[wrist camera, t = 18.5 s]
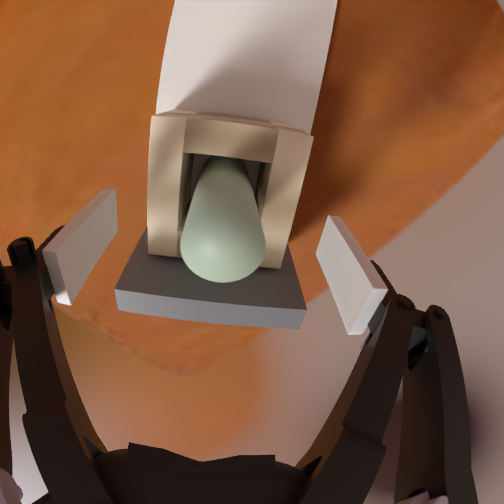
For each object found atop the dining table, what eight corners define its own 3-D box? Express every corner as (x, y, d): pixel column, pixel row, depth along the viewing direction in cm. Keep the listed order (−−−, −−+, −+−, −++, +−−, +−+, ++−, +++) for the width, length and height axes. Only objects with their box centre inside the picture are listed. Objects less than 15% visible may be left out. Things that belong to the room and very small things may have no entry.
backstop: (185, -26, 13) (154, -85, 4) (335, -3, 15) (395, -45, 5) (152, 234, 27) (118, 310, 17) (279, 249, 28) (298, 329, 19)
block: (173, 109, 19) (151, 115, 14) (294, 125, 21) (313, 137, 16) (165, 218, 25) (148, 253, 20) (271, 230, 26) (280, 268, 21)
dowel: (203, 149, 21) (181, 204, 11) (251, 155, 22) (273, 214, 12) (198, 193, 24) (179, 278, 14) (243, 198, 24) (258, 285, 14)
